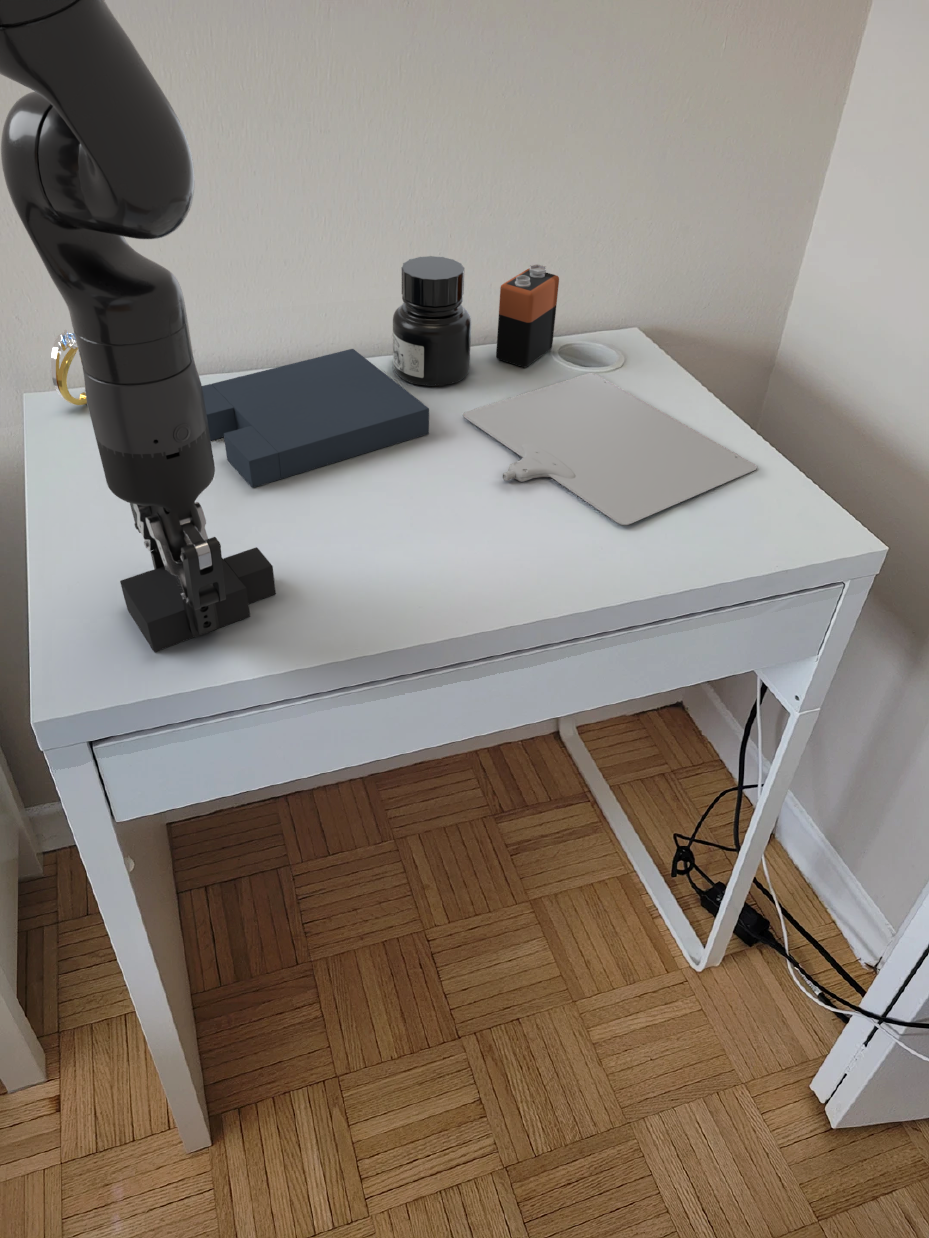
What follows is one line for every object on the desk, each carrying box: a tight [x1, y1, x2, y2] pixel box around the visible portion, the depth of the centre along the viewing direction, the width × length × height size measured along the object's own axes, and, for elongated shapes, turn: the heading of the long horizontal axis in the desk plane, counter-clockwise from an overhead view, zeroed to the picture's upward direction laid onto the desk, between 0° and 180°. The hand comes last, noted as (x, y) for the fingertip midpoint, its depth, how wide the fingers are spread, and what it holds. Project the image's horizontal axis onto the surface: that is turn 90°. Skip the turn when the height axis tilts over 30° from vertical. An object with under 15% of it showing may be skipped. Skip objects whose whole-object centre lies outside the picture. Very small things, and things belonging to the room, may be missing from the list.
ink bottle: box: [392, 255, 472, 387], centre depth 106 cm, size 10×9×12 cm
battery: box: [495, 263, 560, 368], centre depth 111 cm, size 4×7×10 cm, turn 147°
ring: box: [50, 329, 87, 406], centre depth 99 cm, size 7×3×8 cm, turn 156°
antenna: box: [462, 372, 758, 526], centre depth 98 cm, size 25×24×1 cm
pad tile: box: [119, 546, 277, 653], centre depth 76 cm, size 11×6×3 cm, turn 124°
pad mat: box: [202, 348, 430, 489], centre depth 99 cm, size 20×16×3 cm
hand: (188, 607), depth 76 cm, fingers closed on pad tile, 6 cm apart
